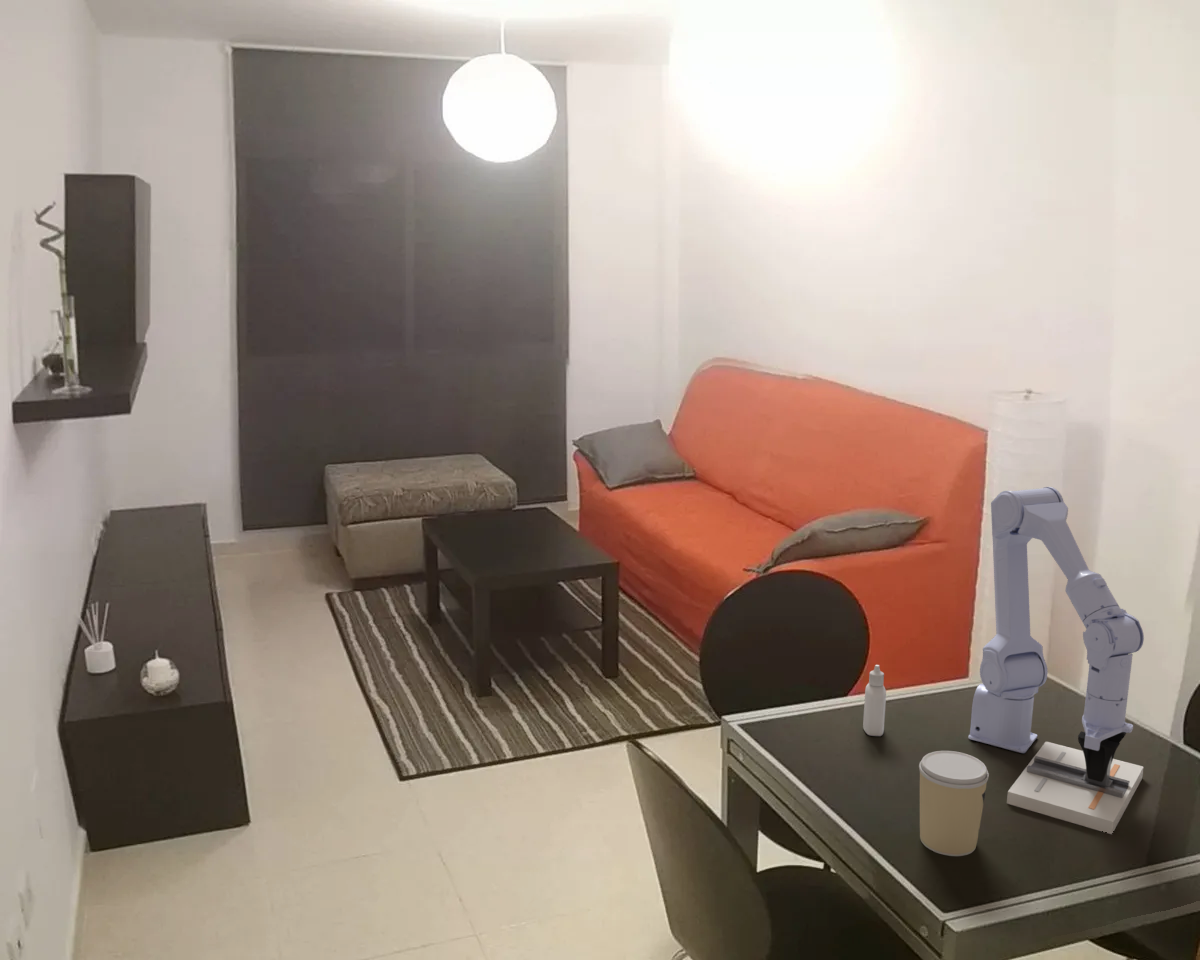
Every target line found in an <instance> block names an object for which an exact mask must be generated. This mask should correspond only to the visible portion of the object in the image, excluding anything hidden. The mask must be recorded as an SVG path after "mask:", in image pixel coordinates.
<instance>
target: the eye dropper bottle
mask: <svg viewBox="0 0 1200 960" xmlns="http://www.w3.org/2000/svg"><path fill="white" fill-rule="evenodd" d="M884 677H885V673H884V672H883V671H881V669H880V664H875V665H874V668H873V670H871V671H869V677H868V680H869V681H868V683H867V684H866V686H865V690H864V706H863V708H864V709H863V724H862V729H863V731H864V732H865V733H866V734H867V735H868V736H870V737H871V736H872V737H881V736H883V734H884V730H885V717H886V701H887V700H886V699H887V691H886V688H885V686H884V681H885V679H884Z"/></svg>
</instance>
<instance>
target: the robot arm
mask: <svg viewBox="0 0 1200 960" xmlns="http://www.w3.org/2000/svg"><path fill="white" fill-rule="evenodd" d="M1064 501H1065V500H1064V498H1063V496H1062V494H1061V492H1060V491H1059V490H1058V489H1057V488H1055V487H1053V486H1045V487H1041V488H1030V489H1020V490H1009V489H1008V490H1003V491H1001V492H999V493H998V494H997V495H996V497H995V498H994V499H993V500H992V501H991V502H990V509H991V510H990V513H991V516H990V517H991V536H992V550H993V551H992V558H993V581H994V603H995V604H994V608H995V609H994V610H995V632H996V634H995V635H994V637H993V638H991V640H989V641H988V642H987V643H985V645H984V646H983V647H982V659H981V663H980V668H979V676H980V679H981V682H982V683H979V685H977V687H976V689H975V691H974V695H973V698H972V706H971V715H970V729H969V734H968V737H967V738H968V739H969V740H972V741H976V742H980V743H983V744H988V745H991V746H993V747H998V748H1002V749H1005V750H1009V751H1012V752H1016V753H1020V754H1026V753H1027V751H1028V750H1029V748H1031V746H1032V744H1033V743H1034V742H1035V741H1036V740H1037V739H1038V734H1037V733H1033V732H1032V724H1033V712H1034V702H1035V695H1036V694H1038V693H1039V688H1040V687H1042V686H1043V685H1044V684H1045V683H1046V682H1047V679H1048V673H1049V672H1048V666H1047V662H1046V660H1045V656H1044V651H1043V650H1044V649H1043V645H1042V644H1041V643H1040V642H1039V641H1037V640H1036V639H1035V638H1033V637H1032V635H1031V616H1030V614H1031V613H1030V591H1029V590H1030V589H1029V588H1030V586H1029V566H1028V565H1029V563H1028V561H1029V560H1028V543H1029V542H1030V541H1031V540H1032V539H1037V540H1040V541H1041V542H1042V544H1044V546H1045V547H1046V549H1047V551H1048V552H1049V553H1050V556H1051V557H1052V558H1053V559H1054V562H1056V565H1057V566H1058V567H1059V569H1060V570H1061V571H1062V573H1063V575H1064V576H1065V577H1066V579H1067V582H1066V586H1065V593H1066V595H1067V597H1068V598H1069V600H1070V602H1071V604H1072V606H1073V608H1074V610H1075V611H1076V613H1077V615H1078V617H1079V619H1080V620H1081V622H1082V624H1083V626H1084V627H1085V630H1084V631H1083V632H1082V638H1083V639H1082V640H1083V644H1084V646H1085V649H1086V660H1087V664H1088V673H1087V674H1088V675H1087V682H1086V684H1087V685H1086V692H1085V701H1084V710H1083V715H1082V716H1081V723H1082V726H1083V730H1084V731H1080V732H1079V733H1078V736H1077V741H1078V744H1079V746H1080V747H1081V751H1083V753H1084V757H1085V762H1086V770H1087V776H1088V778H1089V779H1092V780H1095V781H1099V782H1102V781H1103V779H1104V777H1105V775H1106V772H1107V768H1108V765H1109V761H1110V759H1111V756H1112V760H1113V759H1114V757H1115V754H1116V751H1117V749H1118V747H1119V746H1120V744H1121V741H1122V740H1123V739H1124V738H1125V736H1126V734H1130V733H1132V731H1133V729H1134V725H1133V724H1132V723H1128V722H1126V715H1127V706H1128V699H1129V698H1128V697H1129V690H1130V682H1131V681H1130V680H1131V672H1132V671H1131V670H1132V663H1133V656H1134V655H1133V654H1134V653H1136V652H1137V653H1138V652H1139V651H1140V650H1141V649H1142V647H1143V645H1144V640H1145V637H1144V631H1143V627H1142V626H1141V623H1140V621H1139V620H1138V619H1137V617H1135V616H1133V615H1132V614H1129V613H1128V612H1127V611H1126V609H1124V608H1121V606H1119V604H1118V602H1117V600H1116V598H1115V597H1114V595H1113V593H1112V592H1111V590H1110V588H1109V586H1108V584H1107V582H1106V579H1104V578H1103V576H1102V574H1100V573H1098V572H1095V571H1092V570H1090V569H1089V567H1088V565H1087V562H1086V561H1085V558H1084V556H1083V554H1082V552H1081V550H1080V548H1079V546H1078V543H1077V542H1076V539H1075V537H1074V535H1073V533H1072V531H1071V529H1070V527H1069V524H1068V523H1067V519H1068V515H1069V507H1068V506H1067V504H1066V503H1065V502H1064ZM1112 760H1111V764H1112Z"/></svg>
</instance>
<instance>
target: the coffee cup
mask: <svg viewBox="0 0 1200 960" xmlns="http://www.w3.org/2000/svg"><path fill="white" fill-rule="evenodd" d="M918 768H919V769H918V770H919V839H920V841H921V843H922V844H923V846H924V847H926V848H927V849H928V850H930V851H933V852H934V853H936V854H939V855H944V856H949V857H963V856H967V855H970V854H972V853H973V852H974V851H975V850H976V847H977V843H978V840H979V839H978V838H979V833H980V826H981V822H982V815H983V809H984V803H985V798H986V796H985V795H986V789H987V783H988V781H989V777H990V776H989V775H990V773H989V771H988V769H987V766H986V765H985V763H984V762H983V761H981V760H980V759H979V758H977V757H975V756H973V755H970V754H967V753H965V752H961V751H960V752H959V751H953V750H937V751H935V750H934V751H932V752H929V753H926V754H925V755H924V756H923V757H922V759H921V761H919V764H918Z"/></svg>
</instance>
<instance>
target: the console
mask: <svg viewBox="0 0 1200 960" xmlns="http://www.w3.org/2000/svg"><path fill="white" fill-rule="evenodd" d="M1085 773H1086V762H1085V757H1084V753H1083V750H1082V749H1078V748H1074V747H1068V746H1065V745H1062V744H1057V743H1053V742H1050V741H1044V743H1043V744H1042V746H1041V747H1040V749H1039V750H1038V751H1037V753H1036V754H1035V755H1034V756H1033V757H1032V759H1031V760H1030V762H1029V763H1028V765H1026V767H1025V768H1024V769H1023V771H1022V772H1021V774H1020V775H1019V776H1018V777H1017V779H1016V780H1015V781H1014V783H1013V784H1012V785H1011V786H1010V788H1009V789H1008V791H1007V797H1006V804H1008V805H1011V806H1014V807H1017V808H1021V809H1023V810H1024V809H1025V810H1027V811H1032V812H1035V813H1039V814H1041V815H1045V816H1048V817H1051V818H1055V819H1057V820H1062V821H1065V822H1069V823H1072V824H1074V825H1075V824H1076V825H1078V826H1083V827H1086V828H1088V829H1092V830H1095V831H1099V832H1102V831H1103V832H1102V833H1105V832H1107V833H1106V834H1109V835H1113V834H1112V833H1114V832H1113V831H1115V829H1116V827H1117V826H1118V825H1119V822H1120V821H1121V818H1122V817H1123V815H1124V812H1125V811H1126V809H1127V808H1128V806H1129V804H1130V802H1131V800H1132V798H1133V796H1134V794H1135V792H1136V791H1137V788H1139V785H1140V784H1141V781H1142V779H1143V775H1144V766H1142V765H1139V764H1135V763H1131V762H1127V761H1125V760H1124V761H1123V760H1119V759H1115V758H1113V760H1112V764H1111V769H1110V778H1109V780H1112V781H1113V783H1112V786H1111V787H1106V786H1103V785H1099V784H1095V783H1092V782H1088V781H1084V780H1081V779H1082V777H1083V776H1084V774H1085Z"/></svg>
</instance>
